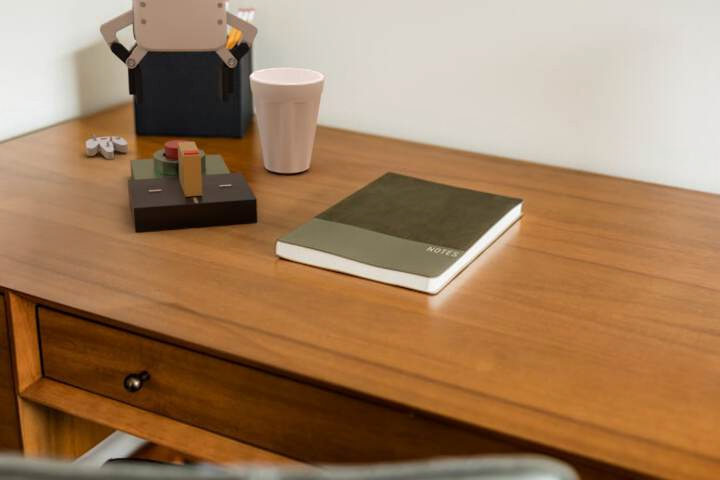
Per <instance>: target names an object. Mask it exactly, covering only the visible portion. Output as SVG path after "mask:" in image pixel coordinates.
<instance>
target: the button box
mask: <svg viewBox="0 0 720 480" xmlns="http://www.w3.org/2000/svg"><path fill="white" fill-rule="evenodd" d="M198 151H199V153H200V155H201V175H211V174H226V173H231V172H230V170H229V168H228V166H227V164H226V163H225V161H224V159H223V157H222V155H221V154H211V155H210V154H208V155H206V153H205V151H204V150H202V149H200V148H198ZM129 165H130V175H131V180H137V179H151V178H166V177H179V160H178V159H169V158H166V157H165V148H162V149H158V150H157V151H155V152H154V153H153V154H152V158H142V159H141V158H140V159H130V160H129Z"/></svg>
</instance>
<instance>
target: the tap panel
mask: <svg viewBox="0 0 720 480" xmlns="http://www.w3.org/2000/svg"><path fill="white" fill-rule="evenodd" d="M127 191H128V204H129V209H130V212H131V218H132V222H133V228H134V232H135V233H147V232H160V231H170V230H183V229H194V228H207V227H217V226H229V225H230V226H231V225H241V224H242V225H243V224H255V223H258V199H257V197H256V195H255V194H254V192H253V190H252V188H251V187H250V185H249V183H248V182H247V180H246V178H245V176H244V175H243V173H242V172H230V173H226V174H211V175H202V196H190V197H185V195H184V192H183V189H182V187H181V184H180V180H179V177H166V178H151V179H137V180H132V179H127Z"/></svg>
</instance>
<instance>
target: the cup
mask: <svg viewBox="0 0 720 480" xmlns="http://www.w3.org/2000/svg"><path fill="white" fill-rule="evenodd" d="M249 84H250V90H251V92H252V97H253V103H254V109H255V116H256V121H257V128H258V135H259V141H260V146H261V153H262V159H263V160H262V161H263V166H264V168H265V169H266V170H268V171H270V172H273V173H279V174H296V173H301V172H305V171H307V170H309V169H310V167H311V162H312V156H313V148H314V143H315V136H316V131H317V123H318V118H319V112H320V106H321V105H320V104H321V98H322V93H323V92H324V86H325V76H324V75H323V74H322V73H321V72H320V71H316V70H313V69H307V68H300V67H298V68H297V67H272V68H263V69H260V70H255V71H253V72H252V73H251V74H250V75H249Z"/></svg>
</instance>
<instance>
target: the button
mask: <svg viewBox="0 0 720 480" xmlns="http://www.w3.org/2000/svg"><path fill="white" fill-rule="evenodd" d="M178 142H191V141H190V140H184V139H176V140H169V141H166V142H165V143H164V149H165V157H166V158H169V159H178Z"/></svg>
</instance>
